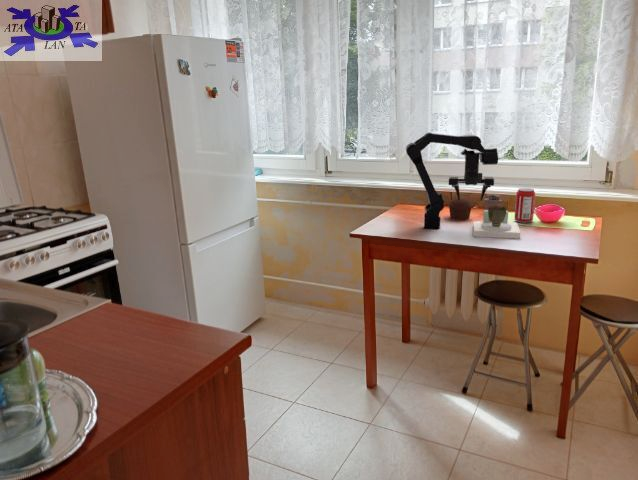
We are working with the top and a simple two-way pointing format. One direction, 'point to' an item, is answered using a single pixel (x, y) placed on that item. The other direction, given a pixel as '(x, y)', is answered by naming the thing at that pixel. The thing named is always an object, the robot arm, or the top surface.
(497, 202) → the lighter
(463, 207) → the muffin
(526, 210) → the soda can
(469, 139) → the robot arm
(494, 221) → the ornate brown lamp shade
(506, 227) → the scale
